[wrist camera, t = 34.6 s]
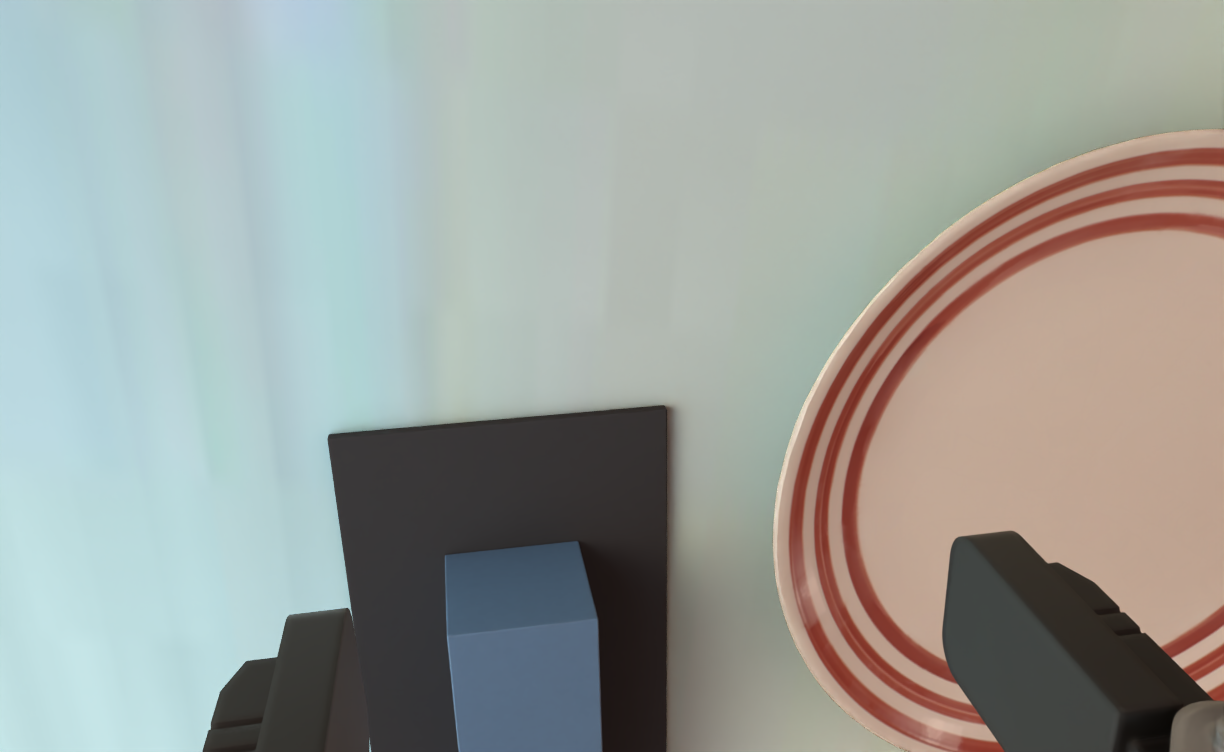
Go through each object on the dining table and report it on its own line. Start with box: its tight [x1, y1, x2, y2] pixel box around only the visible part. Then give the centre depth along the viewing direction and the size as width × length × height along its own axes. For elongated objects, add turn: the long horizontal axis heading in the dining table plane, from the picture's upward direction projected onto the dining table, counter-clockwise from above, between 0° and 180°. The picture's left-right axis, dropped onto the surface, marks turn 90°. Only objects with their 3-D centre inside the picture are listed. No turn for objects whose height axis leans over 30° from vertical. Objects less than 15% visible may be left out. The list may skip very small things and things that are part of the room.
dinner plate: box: [773, 129, 1224, 752], centre depth 40 cm, size 27×27×3 cm
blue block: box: [445, 541, 603, 752], centre depth 39 cm, size 5×5×12 cm
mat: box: [328, 406, 667, 752], centre depth 40 cm, size 12×18×1 cm, turn 2°
